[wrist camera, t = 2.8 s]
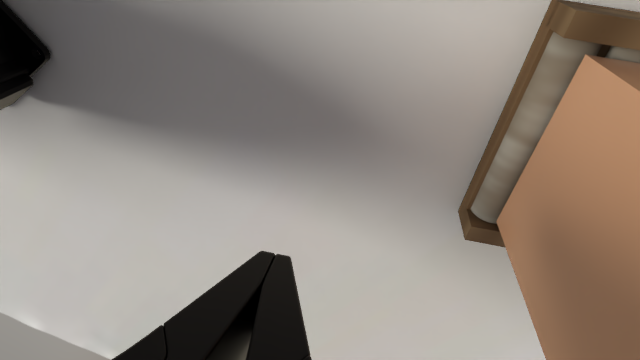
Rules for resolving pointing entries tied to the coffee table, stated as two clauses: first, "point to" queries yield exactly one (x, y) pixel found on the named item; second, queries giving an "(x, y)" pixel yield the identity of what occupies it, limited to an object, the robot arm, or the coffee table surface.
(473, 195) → the roller track
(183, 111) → the coffee table surface
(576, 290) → the terracotta slab
